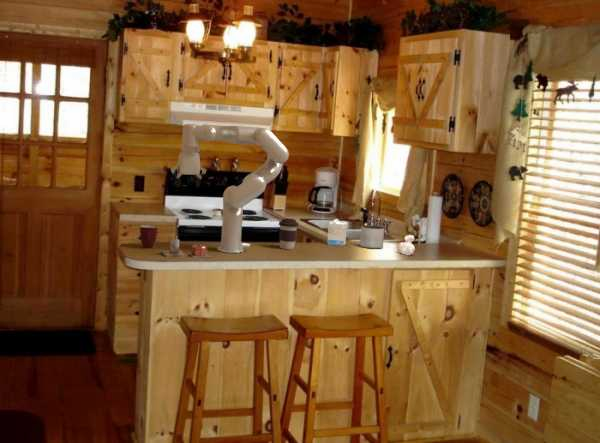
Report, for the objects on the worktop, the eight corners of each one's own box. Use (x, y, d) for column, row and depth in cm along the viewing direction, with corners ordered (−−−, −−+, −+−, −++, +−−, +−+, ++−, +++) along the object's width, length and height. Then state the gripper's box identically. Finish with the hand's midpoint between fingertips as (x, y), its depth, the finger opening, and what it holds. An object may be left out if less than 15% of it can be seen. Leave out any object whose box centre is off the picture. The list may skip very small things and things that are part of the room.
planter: (376, 250, 433) (378, 229, 431) (355, 246, 439) (357, 226, 437) (386, 247, 444) (388, 227, 442) (365, 244, 450) (367, 224, 448)
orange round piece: (209, 255, 378) (209, 245, 377) (197, 256, 373) (197, 246, 373) (201, 253, 383) (201, 243, 382) (188, 254, 378) (189, 244, 378)
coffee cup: (274, 248, 414) (276, 219, 412) (281, 245, 424) (283, 217, 422) (292, 250, 411) (294, 221, 409) (299, 248, 420) (301, 219, 418)
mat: (204, 254, 383) (204, 253, 383) (210, 257, 376) (210, 256, 376) (188, 254, 380) (188, 253, 380) (193, 257, 373) (193, 256, 373)
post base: (181, 252, 383) (182, 238, 382) (188, 256, 374) (188, 241, 373) (160, 253, 378) (161, 238, 377) (166, 257, 369) (167, 241, 368)
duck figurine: (413, 260, 422) (425, 243, 424) (405, 252, 418) (417, 234, 421) (399, 256, 432) (410, 239, 434) (390, 248, 428) (402, 230, 431)
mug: (158, 249, 386) (159, 228, 385) (141, 249, 384) (142, 228, 382) (155, 245, 396) (156, 225, 395) (138, 245, 393) (139, 225, 392)
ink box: (342, 246, 438) (344, 221, 436) (326, 244, 440) (328, 219, 438) (345, 244, 446) (347, 219, 444) (330, 242, 448) (332, 218, 447)
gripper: (204, 150, 392) (202, 186, 395) (169, 149, 385) (167, 185, 387) (209, 151, 386) (207, 188, 388) (174, 150, 378) (172, 187, 380)
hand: (187, 186), depth 387 cm, fingers open, 9 cm apart
